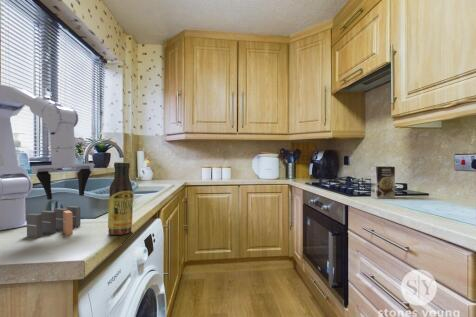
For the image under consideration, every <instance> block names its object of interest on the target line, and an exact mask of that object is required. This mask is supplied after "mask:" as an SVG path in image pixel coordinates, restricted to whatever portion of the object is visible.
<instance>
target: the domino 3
mask: <svg viewBox="0 0 476 317" xmlns="http://www.w3.org/2000/svg"><path fill="white" fill-rule="evenodd" d="M68 210H69V209H67V208H62V207H59V208H54V211H56V230H57V229H58V230H59V231H63V211H68Z"/></svg>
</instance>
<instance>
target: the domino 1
mask: <svg viewBox="0 0 476 317" xmlns="http://www.w3.org/2000/svg"><path fill="white" fill-rule="evenodd" d="M26 222H27V226H26V237H29V238H35V239H39V238H42V237H43V235H44V233H42V214H41V213H28V214H26Z"/></svg>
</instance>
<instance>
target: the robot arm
mask: <svg viewBox="0 0 476 317" xmlns="http://www.w3.org/2000/svg"><path fill="white" fill-rule="evenodd" d="M25 106H27V107H29V111H30V112H31V113H32V114H33V115H35V116H37V117H39V118H41V119H42V120H43V122H44V124H45V125H46V130H47V132H48V134H49V138H50V139H49V140H50V155H51V156H50V158H51V164H46V165H32V166H30V168H31V169H30V170H31V172H30V173H31V174H35V175H36V177H37V179H38V181H39V182H40V184H41V186H42V188H43V190H44V192H45V195H46V200H48V201H49V200H53V194H52V183H51V182H52V181H51V180H52V179H51V178H52V175H51V173H59V172H60V173H61V172H75V171H76V175H77V180H78V195H79V196H80V197H81V196H82V197H83V196H85V190H86V185H87V184H88V181H89V177H90V176H91V173H92V170H95V169H94V168H95V167H94V163H92V162H91V163H77V158H76V156H77V155H76V143H75V142H76V141H75V140H76V139H75V138H76V137H75V127H76V126H78V125H77V124H78V122H79V114H78V113H77V111H76V110H75V109H74V108H72V107H64V106H63V105H62V103H60V102H57V101H56V102H55V101H53V100H52V98H51V97H50V96H47V95H46V96H45V95H43V96H36V95H34V94H32V93H31V92H29V90H27V89H24V88H22V87H21V88H20V87H15V86H10V85H5V84H0V231H3V230H10V229H15V228H21V227H27V221H26V197H29V194H30V193H31V192H32V189H33V186H34V185H33V180H32V179H31V177H30V175H29V171H28V170H27V169H25V168H24V167H22V166H20V165H19V160H18V155H17V150H16V146H15V145H16V144H15V138H14V133H13V127H12V123H11V122H12V121H11V118H12V117H15V116H17V115H18V114H19V113H20V112H21V111H22V110H23V109H24V107H25ZM70 168H71V169H70Z"/></svg>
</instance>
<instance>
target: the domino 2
mask: <svg viewBox="0 0 476 317" xmlns="http://www.w3.org/2000/svg"><path fill="white" fill-rule="evenodd" d="M40 214H42V233H43V234H49V235H52V234H56V233H57V229H56V211H53V210H43V211H40Z"/></svg>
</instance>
